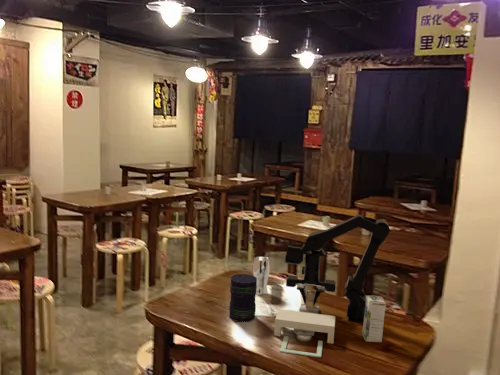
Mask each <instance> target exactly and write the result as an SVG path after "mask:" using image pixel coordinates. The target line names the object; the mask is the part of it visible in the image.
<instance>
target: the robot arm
mask: <svg viewBox="0 0 500 375" xmlns="http://www.w3.org/2000/svg"><path fill="white" fill-rule="evenodd" d="M357 228H361V229H364V230H366V231H367V232H370V233H371V234H370V238H369V240H368V244H367V246H366V248H365V251H364V252H363V255H362V258H361V260H360V262H359V265H358V266H357V268H356V271H355V273H354V274H353V276H352V275H350V274H349V275H348V277H347V281H346V282H345V283H344V290H345V293H344V294H345V296H346V299H347V300H349V303H347V304H346V305H347V306H346V308H347V309H346V317H347V320H348V321H351V322H360V323H364V313H365V304H366V296H367V294H366V293H365V292H364V291H363V288H364V283H365V279H366V277H367V275H368V272H369V271H370V268H371V265H372V264H373V261H374V259H375V256H376V255H377V252H378V250H379V248H380V246H381V245H382V244H383V243H384V241H385V240H386V239H387V237H388V236H389V234H390V232H391V230H390V225H389V223H388V222H387V221H386V220H385V219H383V218H380V219H376V218H373V217H367V216H364V215H361V214H355V215H354V216H353V217H350V218H348V219H346V220H344V221H342V222H340V223H337V224H335V225H334V226H331V227H329V228H326V229H322V230H317V231H314V232H313V231H312V232H310V233H309V234H308V235H307V237H306V240H305V242H304V243H303V244H302V245H301V246H293V245H287V247H286V248H287V249H286V253H285V260H284V261H285V264H291V265H297V266H298V265H301V264H302V263H304V266H302V268H301V275H303V279H300V278H299V276H298V275H292V274H291V275H288V276H287V278H286V280H285V286H286V287H290V288H295V287H296V290H297V291H299V292H300V295H301V296H302V297H301V298H302V300H303V304H306V293H307V289H306V288H307V286H311V287H316V289H315V298H314V303H313V305H314V306H316V303H317V301H318V298H319V296H320V295H321V294H323V293H324V292H325V291H326V292H331V293H335V292H336V287H337V286H336V285H337V281H336V280H331V279H325V281H320V279H321V278H320V275H321V274H320V266H321V257H326V254H327V253H326V252H325V251H324V250H323V248H322V247H323V246H324V245H326V244H327V243H328V242H330V241H331V240H333V239H335V238H337V237H340V236H342V235H344V234H346V233H348V232H351V231H352V230H355V229H357Z"/></svg>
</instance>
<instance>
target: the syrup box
mask: <svg viewBox="0 0 500 375" xmlns="http://www.w3.org/2000/svg"><path fill="white" fill-rule="evenodd" d="M386 304H387V302H385V299H384V297H383V296H381V295H366V304H365V313H364V322H362V323H363V324H362V325H363V326H362V336H363V339H364V341H365V342H368V343H369V342H370V343H371V342H373V343H374V342H375V343H382V342H383V334H384V333H383V332H384V321H385V313H386Z"/></svg>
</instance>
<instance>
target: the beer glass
mask: <svg viewBox="0 0 500 375" xmlns="http://www.w3.org/2000/svg"><path fill="white" fill-rule="evenodd" d="M270 262H271V260H270V258H269V257H267V256H256V257H254V258H253V265H252V266H253V267H252V271H253V272H252V274H253V276H255V277H256V278H257V289H256V291H257V292H256V294H257V295H258V296H266V295H267V294H268V287H267V286H268V281H269V276H270V271H271V270H270V269H271V265H270V264H271V263H270ZM256 294H255V295H256Z"/></svg>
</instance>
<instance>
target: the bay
mask: <svg viewBox="0 0 500 375" xmlns="http://www.w3.org/2000/svg"><path fill="white" fill-rule="evenodd" d="M289 337H290V336H288V335H284V337H283V340H282V343H281V347H280V349H279V352H280V353H286V354H291V355H301V356H306V357H313V358H318V359H319V358H322V353H323V342H324V341H323V340H318V341H317V348H316V352H315V353H314V352H306V351H300V350H295V349H294V350H292V349H288V348H287V345H288V343H289Z"/></svg>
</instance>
